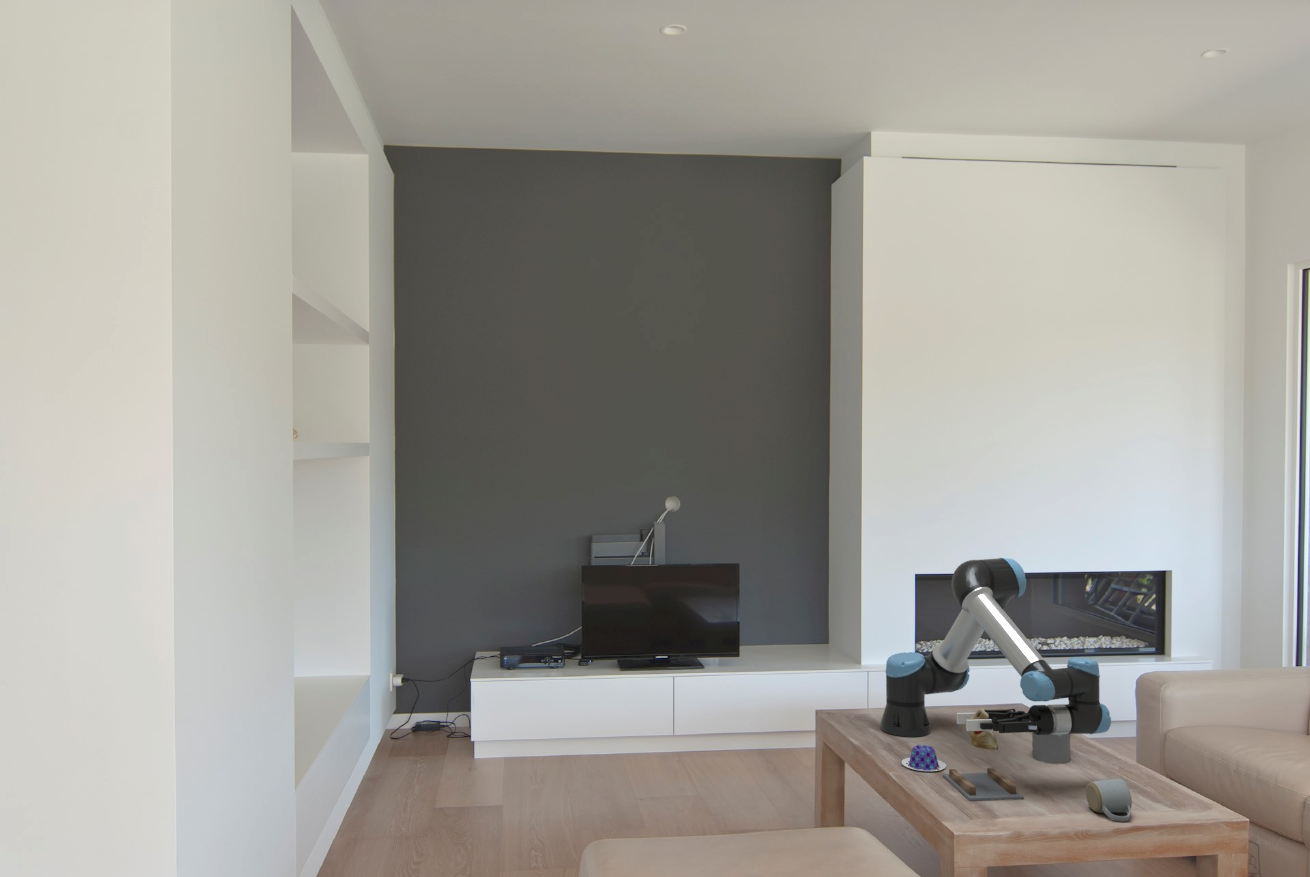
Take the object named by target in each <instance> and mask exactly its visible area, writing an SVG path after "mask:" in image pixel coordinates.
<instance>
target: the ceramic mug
mask: <svg viewBox="0 0 1310 877" xmlns="http://www.w3.org/2000/svg"><path fill="white" fill-rule="evenodd" d="M1085 797H1086V801H1087V803H1088V806H1089V808H1091V810H1092V811H1094V812H1095V813H1099V814H1104V815H1105V816H1107V818H1109V819H1111V820H1112V821H1115V822H1119V823H1120V822H1121V823H1122V822H1128V821H1129V820H1130V817H1131V814H1132V812H1131V809H1132V804H1133V800H1132V795H1131V791H1130V787H1129V786H1128V784H1127V783H1126V781H1124V780H1123V779H1122V778H1112V779H1111V778H1110V779H1104V780H1103V779H1102V780H1095V781H1091V782H1088V783H1087V785H1086V787H1085ZM1116 813H1117V814H1122V813H1127V815H1125V816H1119V815H1116Z"/></svg>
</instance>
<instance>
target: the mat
mask: <svg viewBox="0 0 1310 877" xmlns="http://www.w3.org/2000/svg"><path fill="white" fill-rule="evenodd" d="M960 774H961V775H962V776H963V777H965V778H966V779H967V780H968V781H969V782H970V783H972V784H973V785H974V786H975V787H976V795H969V794H968V793H967V792H966V791H965V790H964V789H963V788H961V787H960V786H959V785H958V784H957V783H956V782H955V781H954V780H953V779H951V778H950V777H949V773H942V777H943V778H944V779H945V780H946V781H947V782H948V783H950V784H951V786H952V787H954V789H956V790H957V792H959V793H960V794H962V796H964V797H965V798H966V799H967V801H970V802H973V801H975V802H976V801H977V802H978V801H980V802H981V801H992V800H991V799H1014V800H1021V799H1020V798H1024V799H1025V797H1024V796H1023V795H1022V793H1020V792H1018V791H1017V790H1016V794H1010V793H1008V792H1007V791H1006V790H1005V789H1004V788H1002V787H1001V786H1000V785H999V784H997V783H996V782H995V781H994V780H993V779H991V778H990V777H989V776H988V775H987V772H969V773H968V772H967V773H966V772H965V773H960Z"/></svg>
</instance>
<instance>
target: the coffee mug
mask: <svg viewBox="0 0 1310 877" xmlns="http://www.w3.org/2000/svg"><path fill="white" fill-rule="evenodd" d="M1031 733H1032V737H1031V738H1032V740H1031V741H1032V758H1034V759H1035V760H1036V761H1039V762H1042V761H1044V763H1047V764H1048V763H1049V764H1054V763H1062V764H1067V763H1069V762H1071V736H1072V734H1061V736H1058V735H1057V734H1050V735H1036V734H1034V733H1033V732H1031Z"/></svg>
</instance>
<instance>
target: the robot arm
mask: <svg viewBox="0 0 1310 877" xmlns="http://www.w3.org/2000/svg"><path fill="white" fill-rule="evenodd" d="M1026 589H1027V578H1026V574H1025V571H1024V569H1023V567H1022V566H1021V565H1020V563H1019V562H1018V561H1016V560H1014V559H1012V558H1004V557H999V558H987V559H986V558H985V559H970V560H966V561H964V562H962V563H960V565H958V566H957V568H956V569H955V570H954V572H953V574H952V577H951V590H952V594H953V597H954V599H955V600H956V602H957V603H958V605H959V606H960V608H962V609H961V611H960V612H959V613H958V615H957V617H956V619H955V621H954V622H953V624H952V626H951V628H950V629H949V630H948V632H947V634H946V636H945V638H944V639H943V641H942V643H938V644H936V645H935V646H934V647H933V648H932V650H931V652H930V653H929V654H928V655H927V656H926V655H923V654H922V653H919V652H914V651H911V652H899V653H894V654H891V655H890V656H889V657H888V658H887V660H886V664H885V665H886V666H885V679H886V680H885V683H886V684H885V687H886V689H885V690H886V692H885V693H886V694H885V695H886V704H885V706H884V710H883V714H882V716H881V720H880V729H881V731H883V732H884V733H886V734H888V735H893V736H898V737H908V738H915V737H918V738H919V737H923V736H927V735H930V734H931V730H932V728H931V721H930V719H929V715H928V712H927V710H926V705H925V702H926V701H925V695H932V694H933V695H934V694H943V693H944V694H945V693H954V692H956V691H960V690H962V689H963V688H964V687H966V685H967V684H968V682H969V680H970V674H969V672H970V671H971V670H970V666H969V660H968V658H969V656H970V655H971V653H972V652H973V650H974V648H975V647H976V645H977V643H978V642H979V640H980V639H981V637H982V635H983V634H984V632H985V634H986V635H987V636H988V637H989V638H990V640H991V641H992V642H993V643H994V644H995V646H996V647H997V649H999V651H1000V652H1001V654H1002V655H1003V656H1004V657H1005V659H1007V661H1008V662H1009V663H1010V664H1011V666H1012V667H1013V668H1014V669H1015V671H1016V672H1017V673H1018V675H1019V676H1020V677H1021V678H1020V682H1019V683H1020V684H1019V686H1020V689H1021V690H1022V695H1023V696H1024V697H1025V698H1026V699H1027V700H1029V701H1032V702H1049V701H1054V700H1061V699H1068V703H1067V704H1064V703H1061V704H1055V703H1054V704H1033V705H1031V706H1030V707H1029V710H1028V712H1026V711H1024V710H1017V711H1016V709H1015V708H1008V709H984V711H985V712H986V713H987V714H988V715H989V718H988V719H975V720H969V718H970V717H972V716H974V715H975V714H976V712H957V713H956V724H957V725H965V728H966V730H965V731H967V732H971V731H991V732H992V731H993V732H998V733H999V734H1011V733H1012V734H1015V733H1032V732H1033V733H1034V734H1036V735H1050V734H1057V735H1058V736H1061V734H1071V735H1094V734H1104V733H1106V732H1108V731H1109V730H1110V727H1111V724H1112V717H1111V715H1110V713H1111V712H1110V710H1109V709H1108V707H1107V706H1106V705H1105V704H1103V703H1101V702H1100V678H1101V676H1100V666H1099V662H1098V661H1097V660H1096V659H1093V658H1091V657H1090V658H1089V657H1084V656H1083V657H1082V656H1081V657H1080V656H1079V657H1078V656H1076V657H1075V656H1074V657H1070V658H1069V659H1068V660H1067V664H1066V667H1061V668H1059V667H1058V668H1052V667H1051V665H1049V663H1048V662H1046V660H1045V659H1044V658H1043V656H1042V655H1041V654H1040V652H1038V650H1037V649H1036V648H1035V646H1033V644H1032V643H1031V642H1030V641H1029V640H1028V638H1027V637H1026V635H1025V634H1023V632H1022V631H1021V630H1020V629H1019V627H1018V626H1017V625H1016V624H1015V623H1014V621H1013V620H1012V618H1010V616H1009V615H1008V614H1007V613H1006V612H1005V610H1004V609H1006V607H1007V605H1008V603H1009V602H1010V600H1011V599H1017V598H1019V597H1022V596H1023V595H1024V594H1025V591H1026Z"/></svg>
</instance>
